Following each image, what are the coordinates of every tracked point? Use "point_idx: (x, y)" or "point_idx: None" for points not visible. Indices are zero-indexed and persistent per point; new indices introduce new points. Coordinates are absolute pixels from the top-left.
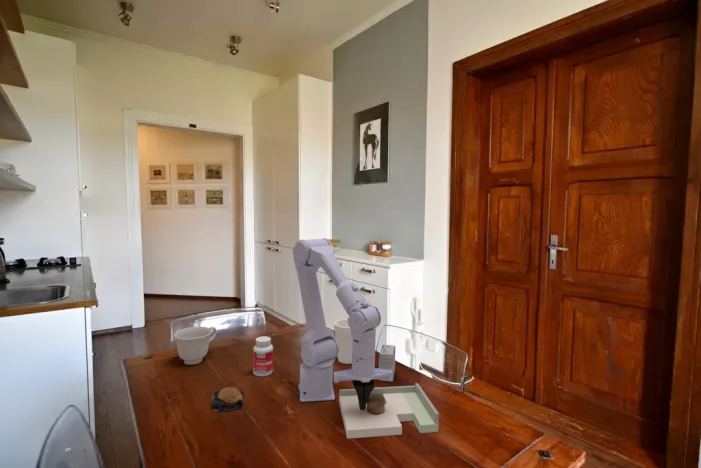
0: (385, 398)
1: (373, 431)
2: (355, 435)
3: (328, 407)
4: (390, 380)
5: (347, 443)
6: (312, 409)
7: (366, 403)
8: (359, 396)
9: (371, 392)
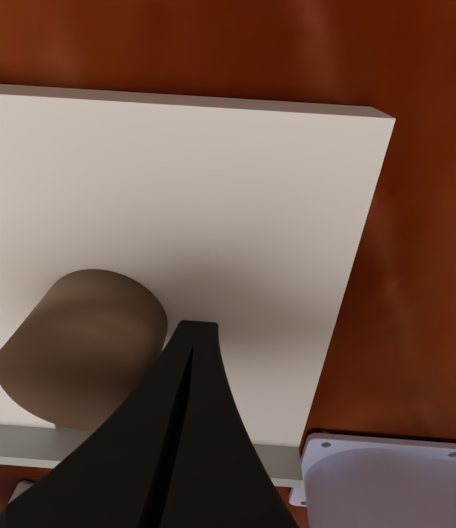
0: None
1: (157, 99)
2: (309, 104)
3: (358, 395)
4: (28, 487)
5: (390, 43)
6: (446, 395)
7: (163, 351)
8: (225, 416)
9: None
